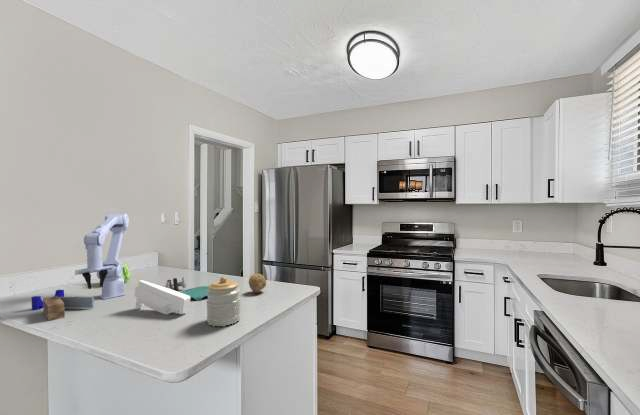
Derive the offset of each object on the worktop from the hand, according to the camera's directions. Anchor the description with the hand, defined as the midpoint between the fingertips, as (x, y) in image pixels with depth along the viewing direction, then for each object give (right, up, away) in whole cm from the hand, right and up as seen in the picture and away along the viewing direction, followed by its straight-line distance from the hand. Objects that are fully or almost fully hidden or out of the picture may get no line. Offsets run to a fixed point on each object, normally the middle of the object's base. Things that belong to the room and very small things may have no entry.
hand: (95, 287), depth 141 cm
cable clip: (-24, -9, +1) cm, 26 cm away
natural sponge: (+73, -7, +16) cm, 75 cm away
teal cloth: (+46, -8, +19) cm, 50 cm away
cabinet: (-9, -9, -11) cm, 17 cm away
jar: (+67, -8, -21) cm, 71 cm away
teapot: (-19, -9, +40) cm, 45 cm away
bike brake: (+21, -8, +24) cm, 33 cm away
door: (-6, -8, -4) cm, 10 cm away
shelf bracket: (+36, -9, -10) cm, 38 cm away
